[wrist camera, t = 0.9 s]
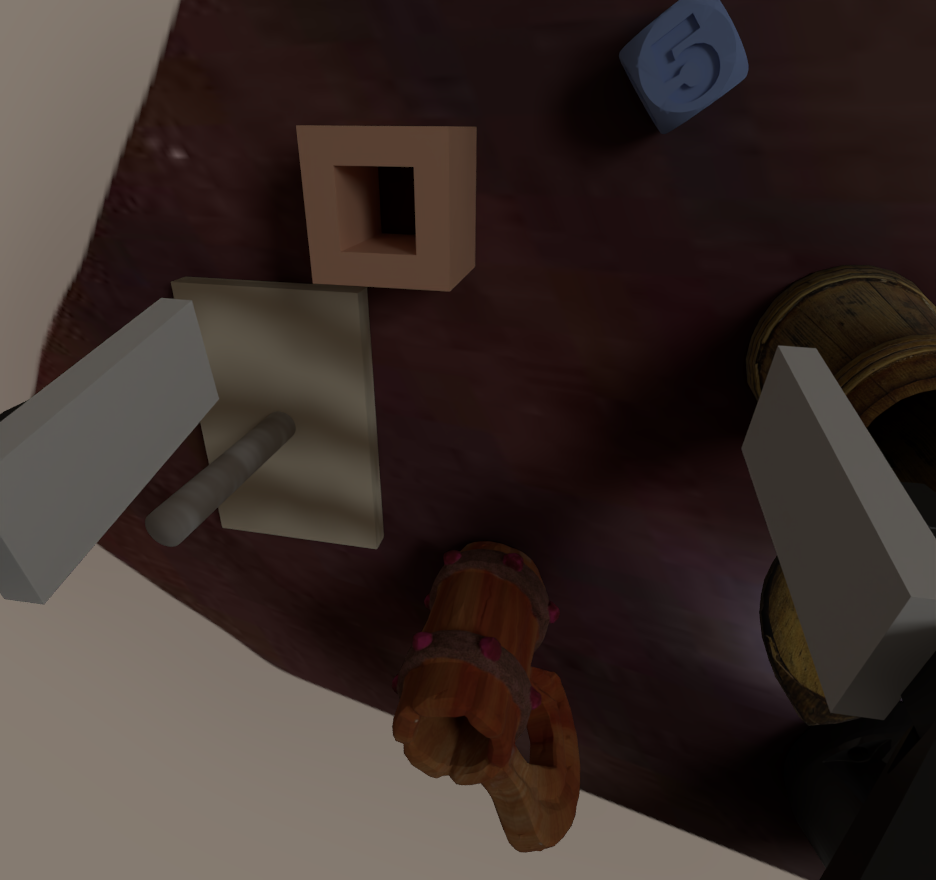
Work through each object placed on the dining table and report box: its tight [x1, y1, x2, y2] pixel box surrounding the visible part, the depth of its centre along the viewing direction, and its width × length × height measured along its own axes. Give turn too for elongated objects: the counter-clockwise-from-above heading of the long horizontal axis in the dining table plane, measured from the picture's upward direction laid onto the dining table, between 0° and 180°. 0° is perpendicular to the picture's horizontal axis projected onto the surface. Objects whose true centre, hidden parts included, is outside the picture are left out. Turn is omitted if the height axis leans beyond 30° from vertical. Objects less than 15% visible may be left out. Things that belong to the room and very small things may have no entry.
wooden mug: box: [746, 265, 936, 726], centre depth 26 cm, size 9×14×18 cm, turn 152°
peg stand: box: [145, 277, 384, 549], centre depth 36 cm, size 18×12×14 cm, turn 0°
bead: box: [296, 126, 477, 291], centre depth 31 cm, size 7×7×6 cm
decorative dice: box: [619, 0, 748, 134], centre depth 27 cm, size 4×4×4 cm
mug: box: [392, 541, 580, 852], centre depth 38 cm, size 15×8×15 cm, turn 37°
